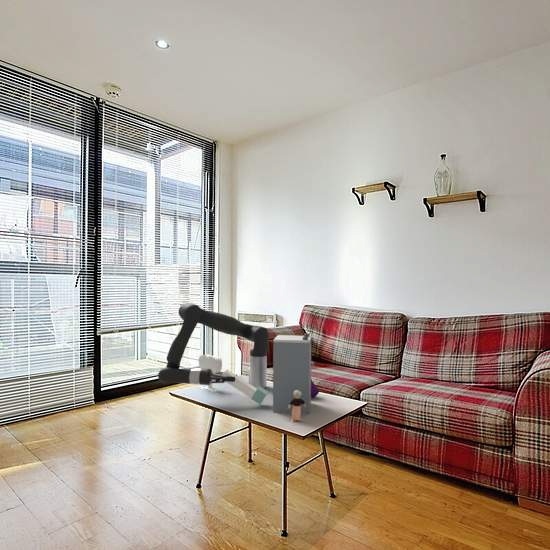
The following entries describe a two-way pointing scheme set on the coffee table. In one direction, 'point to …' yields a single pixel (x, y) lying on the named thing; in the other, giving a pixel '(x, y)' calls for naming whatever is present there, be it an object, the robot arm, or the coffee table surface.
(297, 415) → the grandmother figurine
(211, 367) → the heart sculpture
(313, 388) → the perfume bottle
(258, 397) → the cartridge
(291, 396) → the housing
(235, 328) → the robot arm
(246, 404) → the coffee table surface
